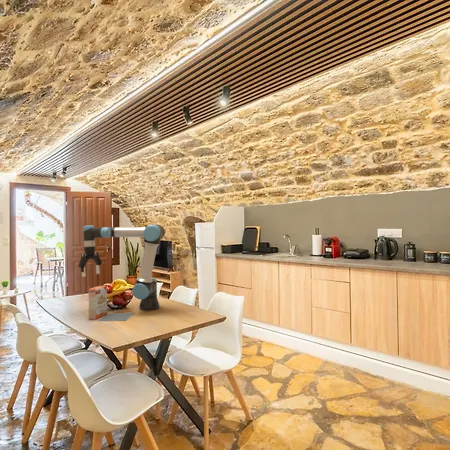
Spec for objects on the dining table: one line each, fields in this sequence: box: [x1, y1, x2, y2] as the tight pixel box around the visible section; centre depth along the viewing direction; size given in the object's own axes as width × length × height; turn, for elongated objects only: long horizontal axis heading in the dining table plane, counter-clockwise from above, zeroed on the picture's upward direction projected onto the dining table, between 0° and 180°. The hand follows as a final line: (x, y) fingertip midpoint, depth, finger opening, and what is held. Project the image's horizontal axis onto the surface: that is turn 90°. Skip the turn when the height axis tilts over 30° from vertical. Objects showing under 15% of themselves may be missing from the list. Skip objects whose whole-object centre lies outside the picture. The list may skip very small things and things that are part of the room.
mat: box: [97, 312, 135, 322], centre depth 236 cm, size 19×20×1 cm
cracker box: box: [88, 285, 108, 320], centre depth 237 cm, size 14×6×21 cm, turn 168°
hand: (91, 275), depth 250 cm, fingers open, 13 cm apart
